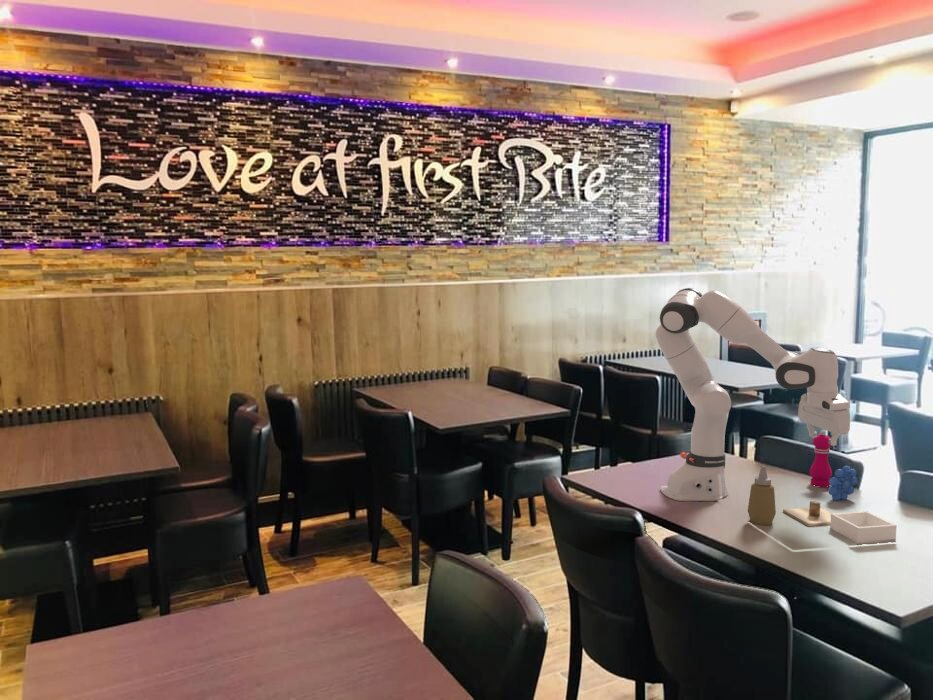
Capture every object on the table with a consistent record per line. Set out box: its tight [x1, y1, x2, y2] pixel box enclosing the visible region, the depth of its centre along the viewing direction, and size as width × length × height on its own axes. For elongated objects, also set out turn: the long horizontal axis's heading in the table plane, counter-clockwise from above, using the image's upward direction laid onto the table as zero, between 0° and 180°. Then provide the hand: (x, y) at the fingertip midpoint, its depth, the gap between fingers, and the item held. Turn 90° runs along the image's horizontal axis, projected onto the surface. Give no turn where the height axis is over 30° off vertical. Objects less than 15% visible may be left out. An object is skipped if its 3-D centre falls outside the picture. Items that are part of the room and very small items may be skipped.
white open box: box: [829, 510, 897, 546], centre depth 212 cm, size 12×12×5 cm
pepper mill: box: [809, 429, 833, 488], centre depth 259 cm, size 7×7×20 cm
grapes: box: [827, 465, 859, 501], centre depth 243 cm, size 12×7×12 cm, turn 110°
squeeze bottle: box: [747, 465, 777, 526], centre depth 222 cm, size 8×8×18 cm
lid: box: [782, 500, 834, 527], centre depth 226 cm, size 13×13×5 cm
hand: (822, 441), depth 230 cm, fingers open, 8 cm apart
